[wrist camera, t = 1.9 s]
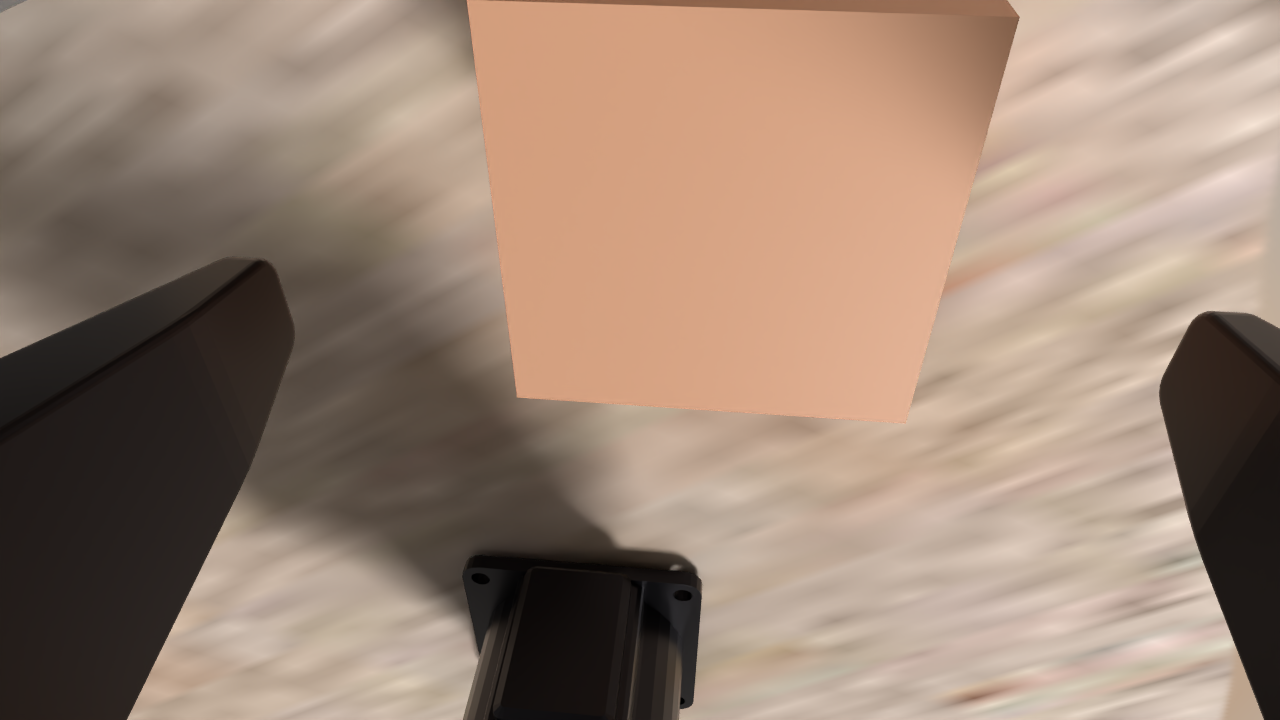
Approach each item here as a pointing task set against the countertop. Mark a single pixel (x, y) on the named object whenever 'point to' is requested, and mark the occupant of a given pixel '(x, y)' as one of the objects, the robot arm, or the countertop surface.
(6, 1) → the grey block
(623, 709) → the robot arm
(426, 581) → the countertop surface
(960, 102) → the terracotta block
